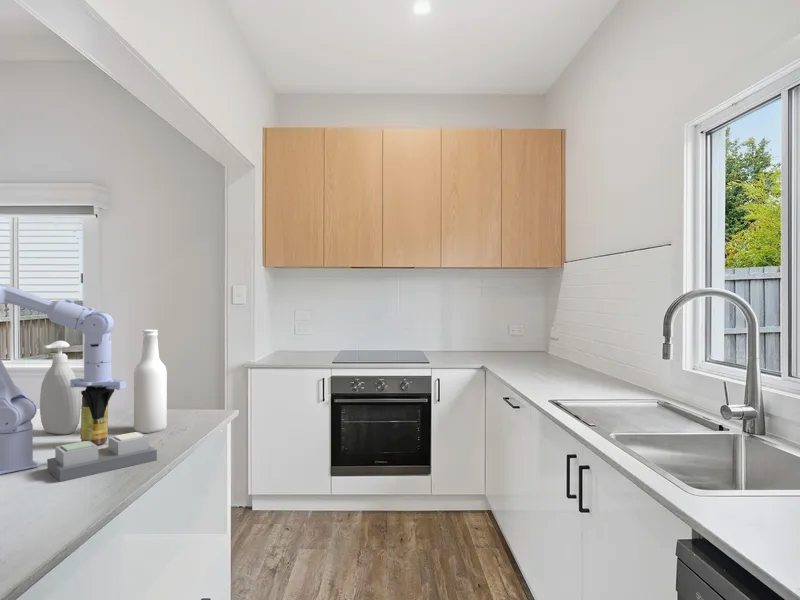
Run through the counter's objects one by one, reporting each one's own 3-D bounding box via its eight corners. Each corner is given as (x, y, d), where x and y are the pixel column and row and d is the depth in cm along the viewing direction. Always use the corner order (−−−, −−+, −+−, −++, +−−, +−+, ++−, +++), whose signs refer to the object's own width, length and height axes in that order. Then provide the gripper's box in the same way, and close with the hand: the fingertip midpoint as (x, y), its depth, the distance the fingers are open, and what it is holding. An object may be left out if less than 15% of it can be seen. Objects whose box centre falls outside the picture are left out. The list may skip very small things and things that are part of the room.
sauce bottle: (95, 448, 133) (94, 372, 133) (74, 446, 134) (74, 371, 134) (113, 441, 140) (113, 369, 139) (94, 439, 141) (94, 368, 141)
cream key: (113, 442, 124) (113, 435, 124) (135, 438, 127) (135, 431, 127) (121, 446, 120) (121, 439, 120) (143, 442, 124) (143, 435, 124)
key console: (47, 469, 116) (47, 445, 116) (139, 450, 131) (139, 429, 131) (60, 481, 109) (60, 456, 109) (156, 460, 123) (156, 437, 123)
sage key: (61, 452, 116) (61, 445, 116) (85, 447, 119) (85, 440, 119) (67, 457, 112) (67, 449, 112) (92, 452, 116) (92, 445, 116)
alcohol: (171, 429, 152) (171, 329, 151) (140, 435, 145) (140, 331, 145) (159, 424, 158) (159, 328, 157) (129, 430, 151) (129, 329, 151)
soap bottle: (26, 434, 146) (25, 341, 146) (53, 427, 154) (53, 339, 154) (62, 439, 141) (61, 342, 141) (88, 432, 149) (88, 340, 149)
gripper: (59, 363, 120) (59, 420, 120) (109, 365, 117) (109, 423, 117) (84, 359, 127) (84, 413, 127) (132, 361, 123) (132, 416, 124)
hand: (98, 418), depth 122 cm, fingers closed
